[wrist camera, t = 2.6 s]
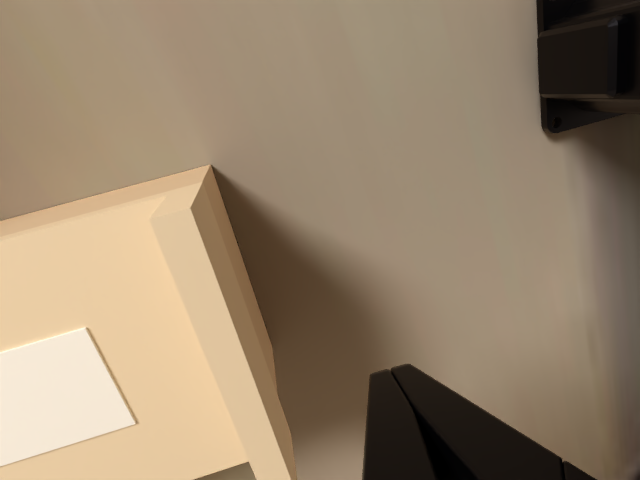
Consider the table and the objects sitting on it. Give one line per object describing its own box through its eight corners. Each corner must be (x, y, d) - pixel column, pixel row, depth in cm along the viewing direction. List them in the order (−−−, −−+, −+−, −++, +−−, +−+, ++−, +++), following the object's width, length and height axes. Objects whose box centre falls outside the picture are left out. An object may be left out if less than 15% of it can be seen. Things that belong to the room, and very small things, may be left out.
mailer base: (210, 164, 18) (197, 191, 13) (272, 347, 22) (281, 424, 17) (-94, 246, 17) (-235, 309, 12) (23, 423, 21) (-48, 530, 16)
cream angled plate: (202, 181, 13) (190, 207, 10) (290, 433, 17) (300, 506, 14) (-265, 309, 12) (-436, 381, 9) (-57, 546, 16) (-128, 652, 13)
